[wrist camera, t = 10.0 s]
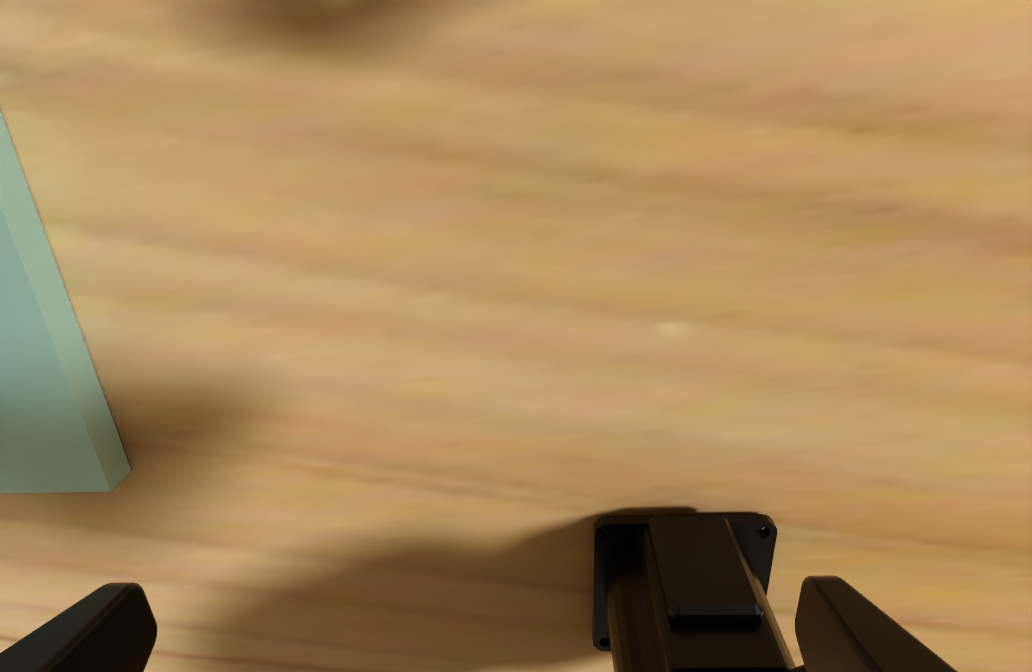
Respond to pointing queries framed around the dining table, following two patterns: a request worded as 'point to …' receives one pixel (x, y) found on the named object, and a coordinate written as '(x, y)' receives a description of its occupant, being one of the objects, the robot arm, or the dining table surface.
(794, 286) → the dining table surface
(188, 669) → the dining table surface
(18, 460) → the header board
